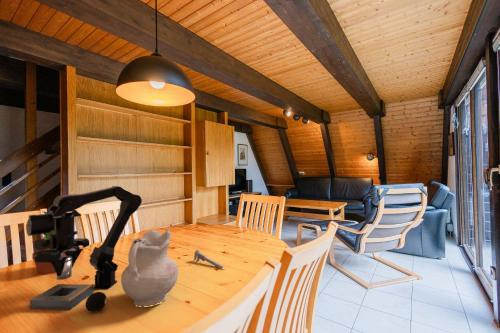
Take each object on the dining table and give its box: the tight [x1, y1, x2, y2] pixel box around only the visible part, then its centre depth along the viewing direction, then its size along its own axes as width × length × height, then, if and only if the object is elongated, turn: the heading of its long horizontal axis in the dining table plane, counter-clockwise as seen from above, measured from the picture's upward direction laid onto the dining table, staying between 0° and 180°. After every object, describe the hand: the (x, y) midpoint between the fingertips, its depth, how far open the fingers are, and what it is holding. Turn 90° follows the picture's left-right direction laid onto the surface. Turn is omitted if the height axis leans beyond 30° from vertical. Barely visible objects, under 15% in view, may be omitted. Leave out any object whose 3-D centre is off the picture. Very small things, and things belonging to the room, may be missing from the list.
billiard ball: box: [85, 291, 108, 313], centre depth 83 cm, size 6×6×6 cm
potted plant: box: [31, 211, 66, 275], centre depth 117 cm, size 15×15×30 cm
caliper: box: [193, 249, 224, 269], centre depth 124 cm, size 20×1×6 cm, turn 56°
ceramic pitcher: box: [120, 229, 179, 308], centre depth 90 cm, size 22×20×25 cm
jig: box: [29, 283, 95, 311], centre depth 90 cm, size 14×12×3 cm
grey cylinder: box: [56, 256, 73, 281], centre depth 90 cm, size 4×4×7 cm
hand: (64, 272), depth 90 cm, fingers closed on grey cylinder, 4 cm apart
